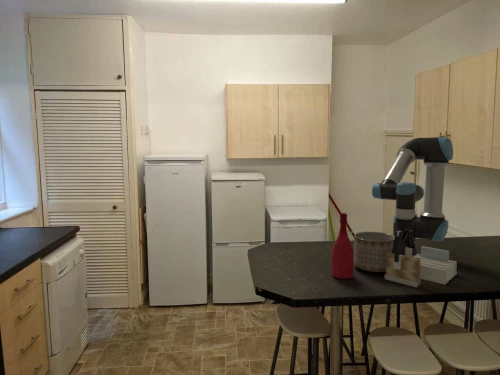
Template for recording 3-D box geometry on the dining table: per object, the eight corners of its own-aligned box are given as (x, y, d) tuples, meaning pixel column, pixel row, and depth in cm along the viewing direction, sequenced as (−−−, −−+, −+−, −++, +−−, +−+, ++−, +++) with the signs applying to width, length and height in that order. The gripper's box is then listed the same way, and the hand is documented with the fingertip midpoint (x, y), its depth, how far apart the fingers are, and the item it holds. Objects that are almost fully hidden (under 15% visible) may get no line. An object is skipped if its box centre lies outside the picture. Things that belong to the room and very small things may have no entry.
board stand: (384, 279, 161) (384, 274, 161) (388, 276, 165) (388, 272, 164) (416, 287, 152) (416, 282, 151) (420, 284, 155) (420, 279, 155)
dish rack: (403, 274, 167) (404, 251, 165) (416, 265, 179) (417, 243, 178) (444, 284, 154) (446, 259, 153) (456, 273, 167) (457, 250, 166)
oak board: (385, 278, 162) (386, 253, 161) (387, 277, 164) (388, 252, 162) (417, 286, 153) (419, 259, 151) (419, 285, 154) (420, 258, 152)
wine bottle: (349, 281, 159) (351, 216, 155) (328, 277, 164) (329, 214, 161) (355, 274, 167) (357, 212, 164) (335, 271, 172) (336, 210, 169)
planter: (377, 278, 162) (378, 243, 160) (345, 266, 179) (345, 234, 177) (403, 270, 173) (404, 237, 171) (370, 259, 189) (371, 229, 187)
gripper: (402, 223, 143) (400, 274, 146) (423, 214, 161) (421, 260, 163) (384, 220, 149) (382, 270, 151) (406, 212, 166) (404, 257, 168)
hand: (402, 265), depth 157 cm, fingers open, 12 cm apart
